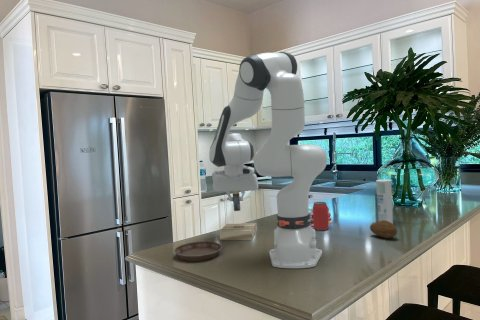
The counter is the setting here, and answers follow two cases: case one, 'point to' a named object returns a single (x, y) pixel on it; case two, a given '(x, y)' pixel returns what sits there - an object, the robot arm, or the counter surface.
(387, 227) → the potato
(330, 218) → the candy landscape model
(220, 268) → the counter surface
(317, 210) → the beer can
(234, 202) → the grey and gold cylinder
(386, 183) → the spray can
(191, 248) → the plant saucer
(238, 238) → the block
